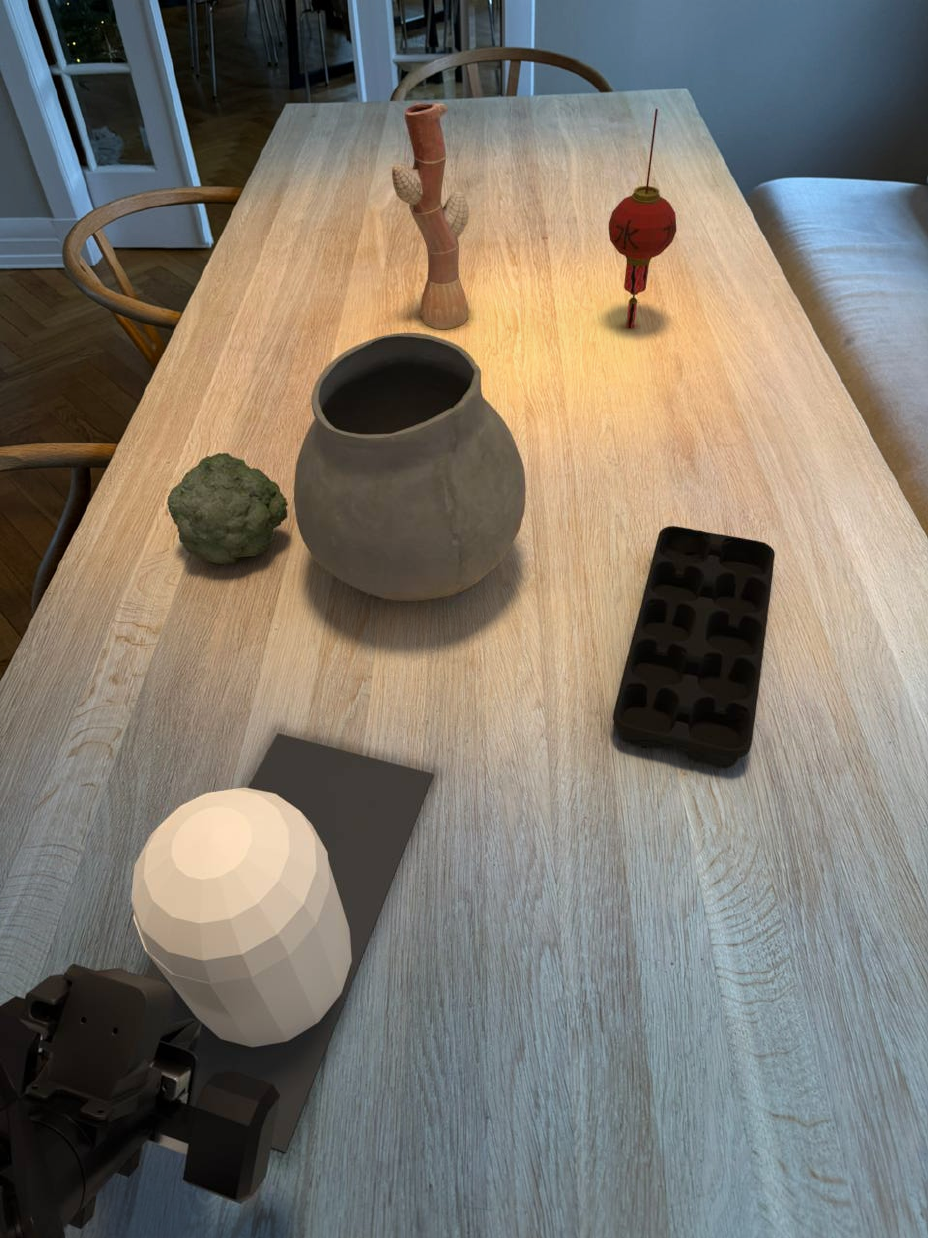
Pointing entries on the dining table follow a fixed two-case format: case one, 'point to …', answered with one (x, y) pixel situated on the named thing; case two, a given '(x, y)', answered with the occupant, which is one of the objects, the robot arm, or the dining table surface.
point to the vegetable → (226, 509)
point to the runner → (362, 870)
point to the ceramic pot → (407, 471)
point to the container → (243, 915)
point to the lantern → (641, 234)
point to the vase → (434, 216)
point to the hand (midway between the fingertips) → (195, 1027)
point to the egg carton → (698, 647)
